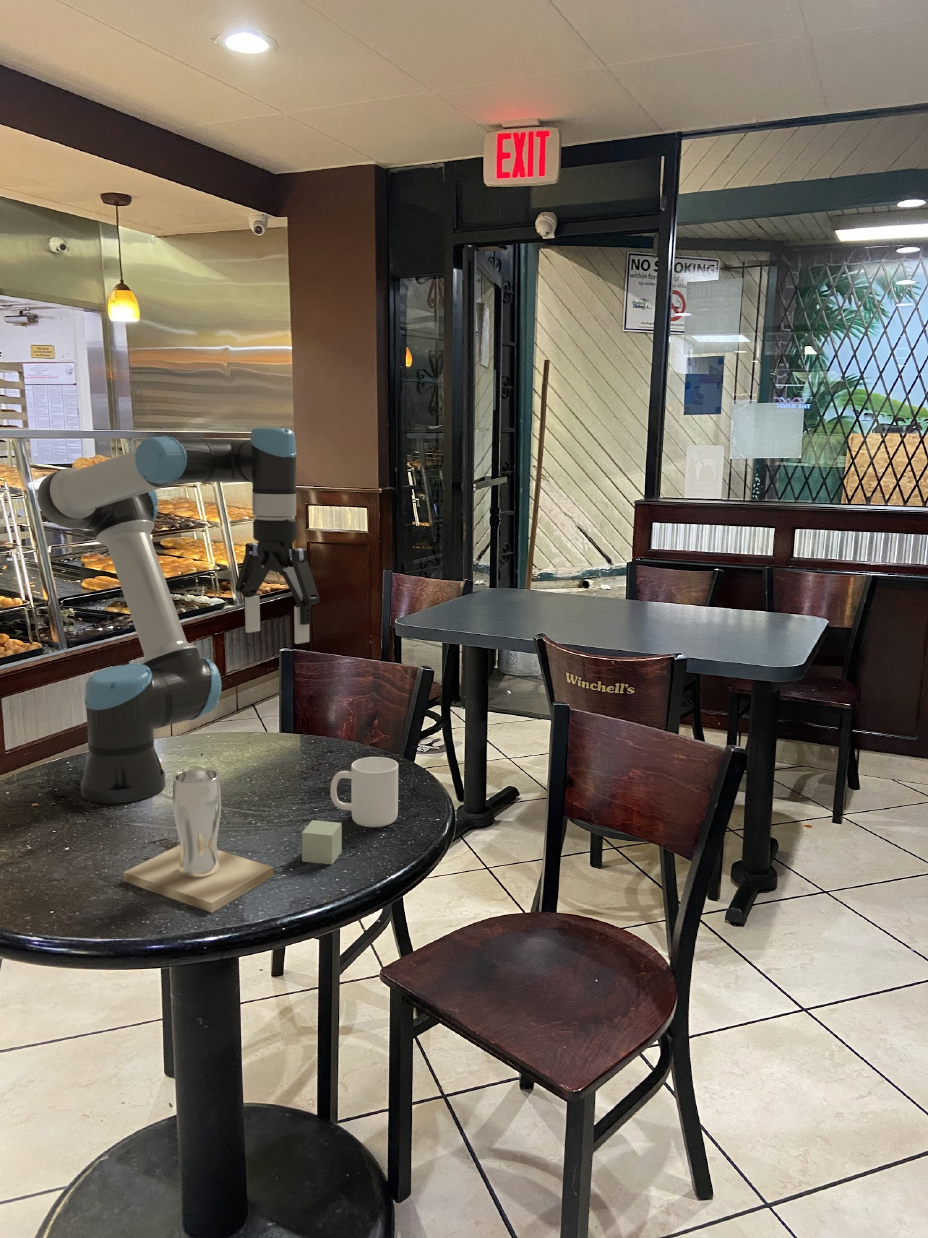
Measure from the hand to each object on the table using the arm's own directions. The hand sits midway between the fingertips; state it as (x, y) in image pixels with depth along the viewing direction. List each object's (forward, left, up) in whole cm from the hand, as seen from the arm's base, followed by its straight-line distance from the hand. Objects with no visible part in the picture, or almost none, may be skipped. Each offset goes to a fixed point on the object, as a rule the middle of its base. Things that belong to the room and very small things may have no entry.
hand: (276, 637), depth 159 cm
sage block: (+20, -13, -32) cm, 40 cm away
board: (+9, -29, -32) cm, 44 cm away
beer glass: (+9, -29, -30) cm, 43 cm away
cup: (+17, +3, -32) cm, 36 cm away
